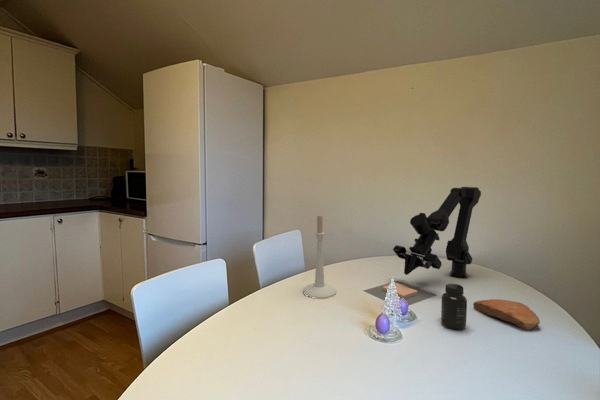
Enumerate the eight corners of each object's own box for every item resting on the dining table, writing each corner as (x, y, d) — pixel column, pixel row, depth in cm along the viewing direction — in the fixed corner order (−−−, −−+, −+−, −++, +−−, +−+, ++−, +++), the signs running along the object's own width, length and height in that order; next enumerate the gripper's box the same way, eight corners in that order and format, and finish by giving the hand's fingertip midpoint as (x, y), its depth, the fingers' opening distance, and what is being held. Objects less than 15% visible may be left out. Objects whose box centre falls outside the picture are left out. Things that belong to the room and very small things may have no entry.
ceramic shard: (493, 312, 91) (471, 298, 106) (497, 334, 91) (474, 318, 106) (548, 307, 90) (517, 294, 104) (552, 330, 89) (521, 314, 104)
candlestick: (297, 295, 116) (297, 215, 113) (309, 284, 128) (309, 211, 125) (330, 301, 111) (331, 217, 108) (340, 288, 123) (340, 212, 120)
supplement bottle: (463, 321, 96) (465, 283, 95) (467, 332, 90) (470, 292, 88) (439, 318, 98) (441, 281, 97) (441, 328, 92) (443, 289, 91)
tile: (396, 282, 123) (382, 286, 119) (417, 290, 115) (403, 295, 111) (396, 286, 123) (381, 290, 119) (417, 294, 115) (403, 299, 111)
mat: (398, 281, 130) (398, 280, 130) (437, 296, 115) (437, 295, 115) (362, 291, 119) (362, 290, 119) (401, 309, 104) (401, 308, 104)
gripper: (455, 259, 119) (436, 293, 114) (413, 249, 134) (395, 278, 129) (443, 241, 114) (423, 276, 109) (402, 233, 129) (382, 263, 124)
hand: (405, 274), depth 118 cm, fingers closed
